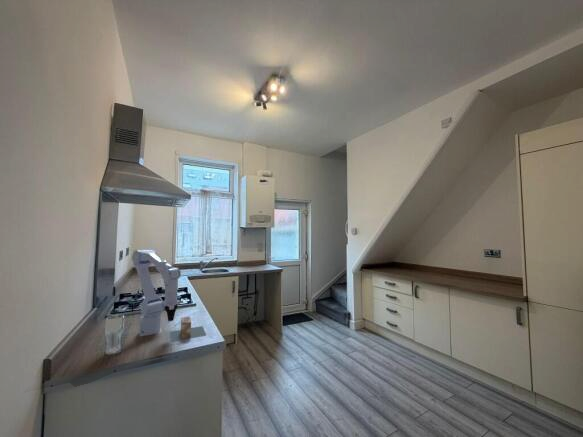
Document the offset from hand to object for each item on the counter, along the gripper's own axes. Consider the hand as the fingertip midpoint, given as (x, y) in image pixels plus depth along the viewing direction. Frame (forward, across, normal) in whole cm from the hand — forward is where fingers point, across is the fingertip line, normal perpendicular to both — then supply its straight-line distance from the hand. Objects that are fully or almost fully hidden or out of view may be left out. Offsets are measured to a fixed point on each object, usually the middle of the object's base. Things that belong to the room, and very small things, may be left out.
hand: (170, 320), depth 121 cm
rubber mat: (+8, 0, -8) cm, 11 cm away
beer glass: (+8, -4, +22) cm, 24 cm away
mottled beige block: (+8, 0, -7) cm, 10 cm away
